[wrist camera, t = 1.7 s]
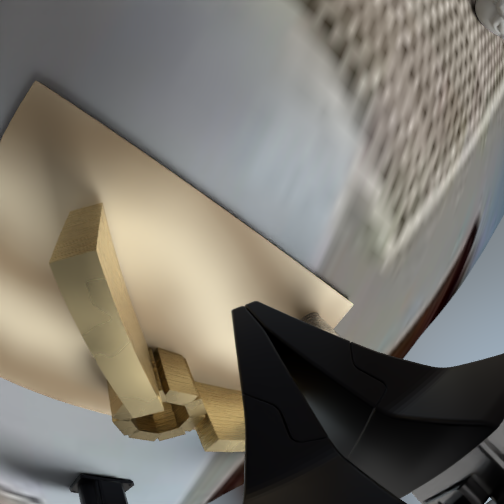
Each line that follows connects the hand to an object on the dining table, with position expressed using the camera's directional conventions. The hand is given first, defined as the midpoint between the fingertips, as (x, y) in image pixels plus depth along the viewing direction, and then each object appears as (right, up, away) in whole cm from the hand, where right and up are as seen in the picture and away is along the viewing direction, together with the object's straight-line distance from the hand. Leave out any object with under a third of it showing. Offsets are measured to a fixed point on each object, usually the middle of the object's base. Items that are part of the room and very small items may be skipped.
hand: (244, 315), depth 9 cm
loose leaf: (-6, 0, +4) cm, 7 cm away
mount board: (-5, -3, +7) cm, 9 cm away
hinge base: (-4, -7, +10) cm, 13 cm away
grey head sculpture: (+24, +28, +6) cm, 37 cm away
